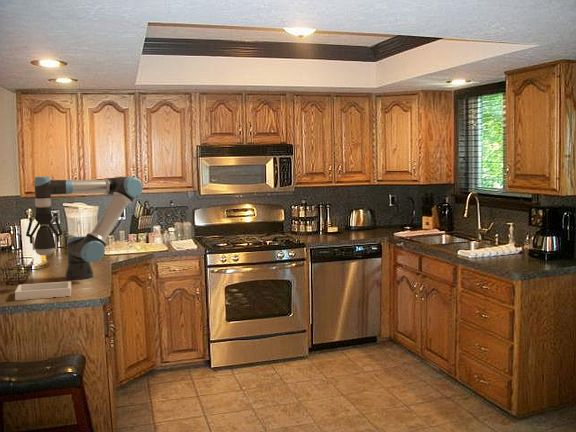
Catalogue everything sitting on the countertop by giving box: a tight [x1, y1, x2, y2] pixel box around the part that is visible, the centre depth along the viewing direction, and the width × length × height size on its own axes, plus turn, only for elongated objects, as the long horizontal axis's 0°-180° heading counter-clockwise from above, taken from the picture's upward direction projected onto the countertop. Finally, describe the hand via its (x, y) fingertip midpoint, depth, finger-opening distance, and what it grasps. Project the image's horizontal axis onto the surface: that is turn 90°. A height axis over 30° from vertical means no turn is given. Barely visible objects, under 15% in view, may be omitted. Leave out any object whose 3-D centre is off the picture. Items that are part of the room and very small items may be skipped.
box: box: [14, 280, 72, 301], centre depth 291 cm, size 24×18×4 cm
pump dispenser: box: [34, 225, 56, 256], centre depth 307 cm, size 10×10×15 cm
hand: (45, 249), depth 308 cm, fingers closed on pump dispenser, 10 cm apart
